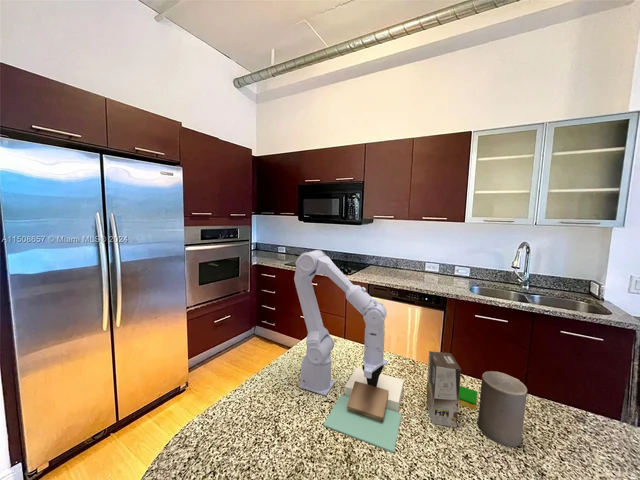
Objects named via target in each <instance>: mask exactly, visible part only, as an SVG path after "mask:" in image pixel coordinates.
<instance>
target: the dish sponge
mask: <svg viewBox="0 0 640 480" xmlns="http://www.w3.org/2000/svg"><path fill="white" fill-rule="evenodd" d="M425 392H426V393H427V384H426V386H425ZM477 401H478V391H477V390H475V389H471V388H468V387H465V386H463V385H460V390H459V403H458V405H460V406H463V407H465V408H469V409H471V410H474V411H475V410H476V409H477Z"/></svg>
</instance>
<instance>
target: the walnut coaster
mask: <svg viewBox="0 0 640 480" xmlns="http://www.w3.org/2000/svg"><path fill="white" fill-rule="evenodd" d="M388 396H389V390H385V389H382V388H378V387H375V386H371V385H368V384H364V383H361V382H357V381H355V383H354V386H353V389H352V392H351V395H350V398H349V401H348V405H347V409H348V411H351V412H354V413H357V414H360V415H363V416H366V417H369V418H372V419H375V420H378V421H381V422H384V417H385V412H386V406H387V401H388Z"/></svg>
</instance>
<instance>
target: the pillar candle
mask: <svg viewBox="0 0 640 480" xmlns="http://www.w3.org/2000/svg"><path fill="white" fill-rule="evenodd" d="M480 385H481V386H480V395H479V405H478V406H479V407H478V420H477V427H478V428H479V430H480V432H482V434H483V435H484V436H486V437H487V438H488V439H489V440H491V441H493V442H494V443H496V444H500V445H503V446H504V447H505V446H506V447H512V448H513V447H518V446H520V445H521V444H522V441H523V440H522V439H523V432H524V431H523V430H524V423H525V413H526V403H527V394H528V388H527V386H526V385H525V384H524V383H523V382H522V381H520V379H518V378H516V377H513V376H511V375H509V374H507V373H504V372H500V371H491V370H490V371H485V372H484V373H482V375H481V384H480Z"/></svg>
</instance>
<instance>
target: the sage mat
mask: <svg viewBox="0 0 640 480" xmlns="http://www.w3.org/2000/svg"><path fill="white" fill-rule="evenodd" d="M349 398H350V397H347V396H345V394H344V395H343V394H340V395H339V397H338V399H337V401H336V402H335V404H334V406H333V407H332V409H331V412H329V414H328V416H327V418H326V420H325V421H324V423H323V426H322V427H325V428H327V429H330V430H333V431H335V432H337V433H340V434H343V435H345V436H348V437H350V438H353V439H356V440H359V441H361V442H364V443H366V444H369V445H372V446H374V447H377V448H380V449H382V450H385V451H387V452H390V453H393V454H395V449H396V448H395V447H396V443H397V438H398V433H399V428H400V425H401V419H402V414H403V413H401V412H399V411H398V412H395V411H392V410H388V409H386V412H385V417H384V422H381V421H378V420H375V419H372V418H369V417H366V416H363V415H360V414H357V413H354V412H351V411H348V409H347V405H348V401H349Z"/></svg>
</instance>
